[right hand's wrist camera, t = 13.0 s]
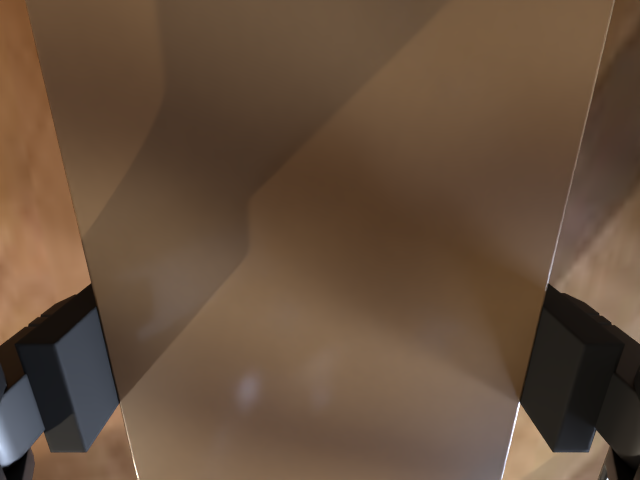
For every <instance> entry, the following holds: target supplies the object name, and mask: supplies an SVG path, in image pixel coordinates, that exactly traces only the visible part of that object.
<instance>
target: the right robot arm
mask: <svg viewBox="0 0 640 480" xmlns="http://www.w3.org/2000/svg"><path fill="white" fill-rule="evenodd" d="M118 404H119V399H118V395H117V390H116V386H115V382H114V378H113V373H112V369H111V365H110V360H109V356H108V352H107V348H106V343H105V339H104V335H103V331H102V326H101V322H100V318H99V314H98V309H97V305H96V301H95V296H94V292H93V288H92V284H90V285H88V286H87V287H86V288H85V289H83V290H82V291H81V292H80V293H78V294H77V295H73V296H71V297H69V298H67V299H65V300H63V301H60V302H58V303H56V304H55V305H53V306H52V307H51V308H49V309H48V310H47V311H45V312H44V313H43V314H41V317H37V318H36V319H35V320H34V321H32V322H31V323H30V324H28V327H24V328H23V329H22V330H20V331H19V332H18V333H16V334H15V335H14V336H12V337H11V338H10V339H9V340H7V341H6V342H5V343H3V344H2V345H1V346H0V480H32V477H33V471H34V465H35V462H34V456H33V453H32V450H31V446H32V445H33V443H34V442H35V441H36V440H37V439H38V437H39V436H40V435H41V434H42V433H43V431H44V434H45V437H46V440H47V443H48V446H49V449H50V452H87V451H88V449H89V448H90V446H91V445H92V443H93V442H94V440H95V439H96V437H97V436H98V434H99V433H100V431H101V430H102V428H103V427H104V425H105V424H106V422H107V421H108V419H109V418H110V416H111V415H112V413H113V412H114V410H115V409H116V407H117V406H118ZM520 404H521V405H522V407H523V408H524V410H525V411H526V413H527V414H528V416H529V417H530V419H531V420H532V422H533V423H534V425H535V426H536V428H537V429H538V431H539V432H540V434H541V435H542V437H543V438H544V440H545V441H546V443H547V444H548V446H549V447H550V449H551V450H552V452H589V450H590V447H591V444H592V441H593V438H594V435H595V432H596V430H597V431H598V432H599V433H600V435H601V436H602V437H603V438H604V439H605V441H606V442H607V443H608V444H609V445H610V447H609V450H608V453H607V456H606V458H605V461H604V464H603V467H602V469H601V472H600V475H599V478H598V480H640V344H639V343H638V342H636V341H635V340H634V339H632V338H631V337H630V336H628V335H627V334H626V333H624V332H623V331H622V330H620V329H619V328H618V327H616V326H615V325H612V324H611V322H610V321H608V320H607V319H606V318H604V317H603V316H599V313H598V312H597V311H595V310H594V309H593V308H591V307H590V306H589V305H587V304H586V303H585V302H582V301H580V300H578V299H576V298H574V297H572V296H570V295H568V294H565V293H560V292H559V291H557V290H556V289H555V288H554V287H552V286H551V285H550V284H549V283H548V286H547V291H546V295H545V299H544V303H543V308H542V312H541V316H540V320H539V325H538V329H537V333H536V337H535V341H534V346H533V350H532V354H531V358H530V363H529V367H528V371H527V375H526V380H525V384H524V388H523V392H522V397H521V401H520Z"/></svg>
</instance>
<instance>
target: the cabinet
mask: <svg viewBox="0 0 640 480" xmlns="http://www.w3.org/2000/svg"><path fill="white" fill-rule="evenodd" d="M25 2H26V6H27V11H28V15H29V19H30V23H31V28H32V32H33V36H34V40H35V45H36V49H37V53H38V58H39V62H40V66H41V70H42V75H43V79H44V83H45V87H46V92H47V96H48V100H49V104H50V109H51V113H52V117H53V122H54V126H55V130H56V134H57V139H58V143H59V147H60V151H61V156H62V160H63V164H64V168H65V173H66V177H67V181H68V186H69V190H70V194H71V198H72V203H73V207H74V211H75V215H76V220H77V224H78V228H79V232H80V237H81V241H82V245H83V250H84V254H85V258H86V262H87V267H88V271H89V275H90V279H91V284H92V288H93V292H94V296H95V301H96V305H97V309H98V314H99V318H100V322H101V326H102V331H103V335H104V339H105V343H106V348H107V352H108V356H109V360H110V365H111V369H112V373H113V378H114V382H115V386H116V390H117V395H118V399H119V403H120V407H121V412H122V416H123V420H124V424H125V429H126V433H127V437H128V442H129V446H130V450H131V454H132V459H133V463H134V467H135V471H136V476H137V480H502V477H503V473H504V469H505V464H506V460H507V456H508V452H509V447H510V443H511V439H512V435H513V430H514V426H515V422H516V418H517V413H518V409H519V405H520V401H521V397H522V392H523V388H524V384H525V380H526V375H527V371H528V367H529V363H530V358H531V354H532V350H533V346H534V341H535V337H536V333H537V329H538V325H539V320H540V316H541V312H542V308H543V303H544V299H545V295H546V291H547V286H548V282H549V278H550V274H551V269H552V265H553V261H554V257H555V253H556V248H557V244H558V240H559V236H560V231H561V227H562V223H563V219H564V214H565V210H566V206H567V202H568V197H569V193H570V189H571V185H572V180H573V176H574V172H575V168H576V164H577V159H578V155H579V151H580V147H581V142H582V138H583V134H584V130H585V125H586V121H587V117H588V113H589V108H590V104H591V100H592V96H593V92H594V87H595V83H596V79H597V75H598V70H599V66H600V62H601V58H602V53H603V49H604V45H605V41H606V36H607V32H608V28H609V24H610V19H611V15H612V11H613V7H614V3H615V0H25Z"/></svg>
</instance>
